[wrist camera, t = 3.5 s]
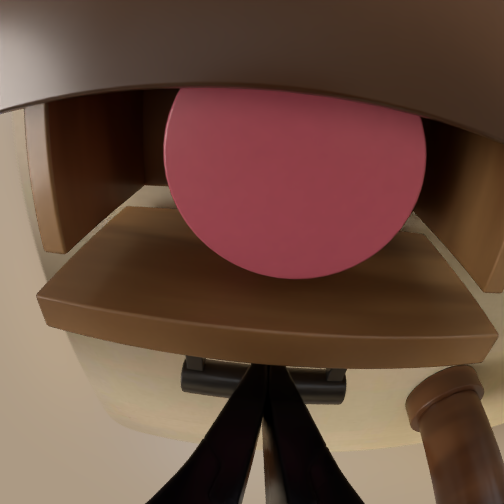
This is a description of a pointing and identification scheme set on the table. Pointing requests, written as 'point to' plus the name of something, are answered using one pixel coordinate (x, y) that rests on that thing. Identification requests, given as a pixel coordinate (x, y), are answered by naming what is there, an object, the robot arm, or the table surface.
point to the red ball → (292, 177)
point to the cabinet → (264, 52)
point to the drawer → (246, 282)
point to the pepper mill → (457, 438)
